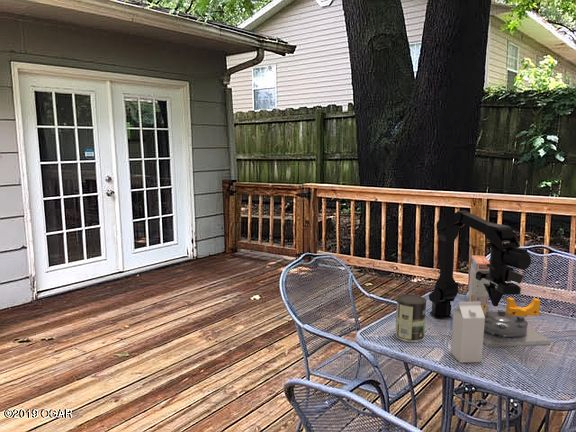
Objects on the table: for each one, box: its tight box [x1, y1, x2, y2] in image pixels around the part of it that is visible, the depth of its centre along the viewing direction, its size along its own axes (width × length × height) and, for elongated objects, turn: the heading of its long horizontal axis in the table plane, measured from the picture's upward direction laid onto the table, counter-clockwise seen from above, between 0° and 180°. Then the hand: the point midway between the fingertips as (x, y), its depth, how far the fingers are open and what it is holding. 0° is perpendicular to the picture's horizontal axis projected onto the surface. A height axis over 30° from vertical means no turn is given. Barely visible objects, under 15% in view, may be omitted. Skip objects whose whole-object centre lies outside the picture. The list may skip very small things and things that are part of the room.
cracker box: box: [467, 254, 490, 312], centre depth 199 cm, size 14×6×21 cm, turn 167°
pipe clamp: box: [505, 297, 541, 318], centre depth 192 cm, size 12×4×6 cm, turn 86°
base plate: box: [483, 325, 551, 348], centre depth 175 cm, size 23×23×4 cm
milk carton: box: [450, 301, 485, 363], centre depth 153 cm, size 7×7×19 cm
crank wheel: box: [481, 303, 529, 337], centre depth 174 cm, size 17×17×9 cm
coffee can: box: [394, 293, 428, 343], centre depth 169 cm, size 10×10×14 cm
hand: (495, 306), depth 165 cm, fingers closed
